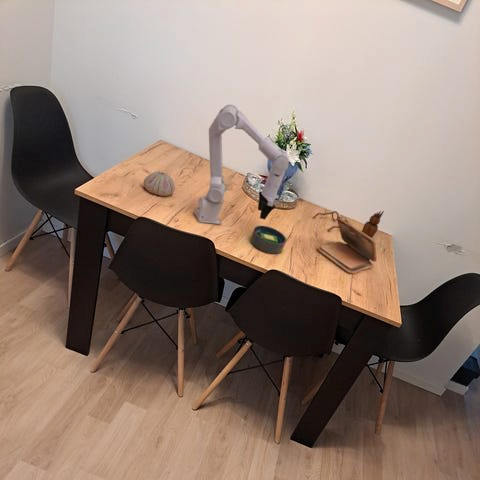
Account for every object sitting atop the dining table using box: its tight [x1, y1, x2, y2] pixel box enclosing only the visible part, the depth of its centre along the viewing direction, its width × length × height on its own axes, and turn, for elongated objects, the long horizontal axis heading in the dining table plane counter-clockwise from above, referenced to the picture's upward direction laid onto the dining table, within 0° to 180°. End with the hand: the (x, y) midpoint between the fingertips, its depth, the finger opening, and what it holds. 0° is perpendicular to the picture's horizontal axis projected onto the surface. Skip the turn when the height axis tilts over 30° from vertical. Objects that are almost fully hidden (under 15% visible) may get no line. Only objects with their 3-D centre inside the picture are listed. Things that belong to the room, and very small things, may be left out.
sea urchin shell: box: [143, 170, 176, 197], centre depth 196 cm, size 13×14×8 cm
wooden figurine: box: [361, 210, 385, 239], centre depth 229 cm, size 7×6×15 cm
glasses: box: [312, 210, 350, 232], centre depth 229 cm, size 13×13×5 cm
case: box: [317, 217, 378, 275], centre depth 200 cm, size 20×21×16 cm
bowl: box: [250, 225, 287, 254], centre depth 189 cm, size 14×14×5 cm
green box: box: [258, 233, 278, 243], centre depth 189 cm, size 8×5×3 cm, turn 96°
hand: (261, 214), depth 190 cm, fingers open, 7 cm apart
